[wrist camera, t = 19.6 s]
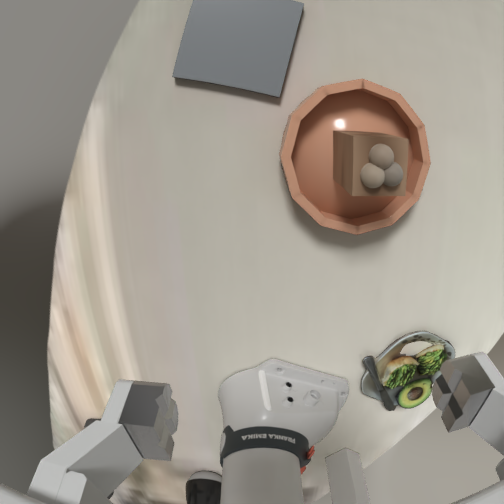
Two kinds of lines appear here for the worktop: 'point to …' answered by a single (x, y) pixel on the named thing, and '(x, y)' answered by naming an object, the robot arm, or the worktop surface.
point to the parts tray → (239, 43)
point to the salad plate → (405, 371)
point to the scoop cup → (370, 163)
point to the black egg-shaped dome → (204, 488)
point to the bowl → (321, 153)
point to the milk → (346, 478)
